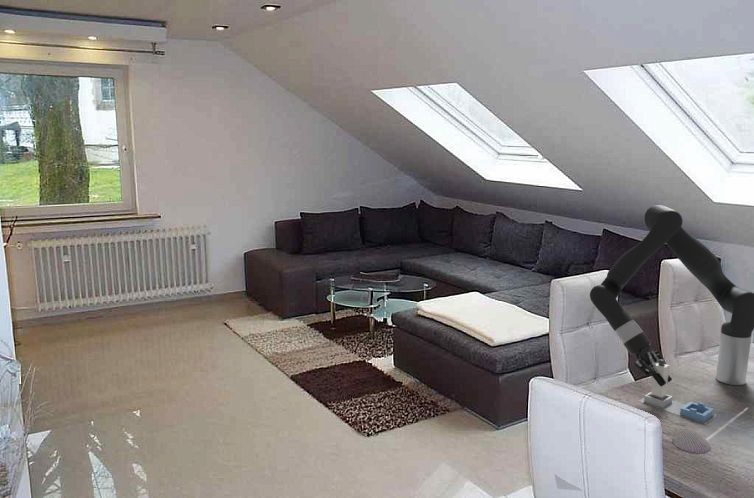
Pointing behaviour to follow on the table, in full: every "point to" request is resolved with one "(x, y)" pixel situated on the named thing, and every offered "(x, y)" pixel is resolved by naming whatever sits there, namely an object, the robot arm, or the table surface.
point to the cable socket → (681, 408)
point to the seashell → (690, 441)
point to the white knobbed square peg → (664, 372)
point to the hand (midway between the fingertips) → (666, 383)
